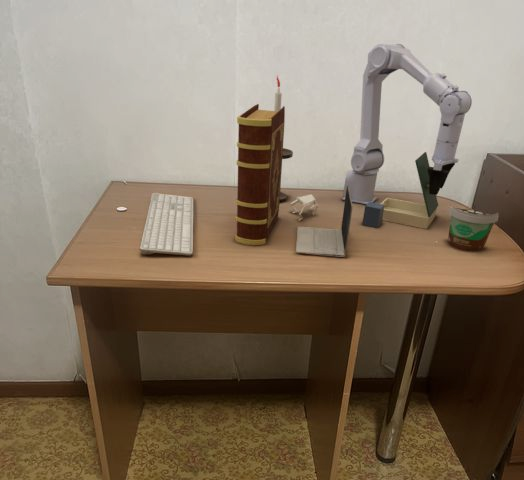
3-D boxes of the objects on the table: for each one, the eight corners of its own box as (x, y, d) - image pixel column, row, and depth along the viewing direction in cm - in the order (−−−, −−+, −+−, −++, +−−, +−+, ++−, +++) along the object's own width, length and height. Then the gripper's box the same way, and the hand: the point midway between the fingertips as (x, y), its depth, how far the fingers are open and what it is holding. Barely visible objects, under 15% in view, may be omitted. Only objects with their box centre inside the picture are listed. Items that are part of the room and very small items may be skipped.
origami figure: (289, 208, 158) (290, 192, 156) (316, 210, 158) (318, 194, 156) (289, 222, 148) (290, 205, 146) (318, 223, 148) (320, 206, 146)
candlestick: (248, 196, 166) (252, 74, 147) (273, 191, 173) (280, 72, 153) (271, 205, 160) (278, 78, 140) (296, 199, 166) (306, 77, 147)
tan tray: (374, 218, 154) (375, 208, 152) (385, 207, 163) (386, 197, 162) (426, 229, 149) (429, 218, 147) (434, 217, 158) (437, 206, 156)
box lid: (415, 160, 141) (429, 156, 139) (424, 152, 150) (438, 148, 148) (428, 217, 147) (442, 214, 145) (436, 205, 156) (450, 202, 154)
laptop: (297, 228, 144) (301, 181, 137) (342, 232, 144) (348, 184, 136) (295, 254, 129) (299, 202, 122) (345, 258, 129) (353, 206, 121)
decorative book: (263, 247, 132) (269, 120, 116) (233, 243, 133) (235, 117, 117) (279, 218, 151) (286, 105, 134) (252, 215, 152) (256, 103, 135)
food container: (437, 246, 138) (446, 209, 132) (442, 239, 142) (451, 203, 137) (486, 256, 133) (497, 219, 128) (489, 249, 138) (500, 212, 132)
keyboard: (192, 257, 125) (192, 248, 123) (140, 257, 123) (139, 248, 122) (193, 199, 161) (193, 192, 160) (153, 199, 160) (152, 191, 158)
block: (362, 224, 149) (365, 205, 146) (366, 220, 153) (369, 201, 150) (377, 227, 148) (380, 208, 145) (381, 223, 151) (384, 204, 148)
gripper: (458, 147, 134) (445, 199, 141) (466, 138, 145) (454, 187, 152) (430, 143, 136) (419, 195, 144) (441, 134, 147) (430, 183, 155)
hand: (435, 190), depth 148 cm, fingers open, 7 cm apart
